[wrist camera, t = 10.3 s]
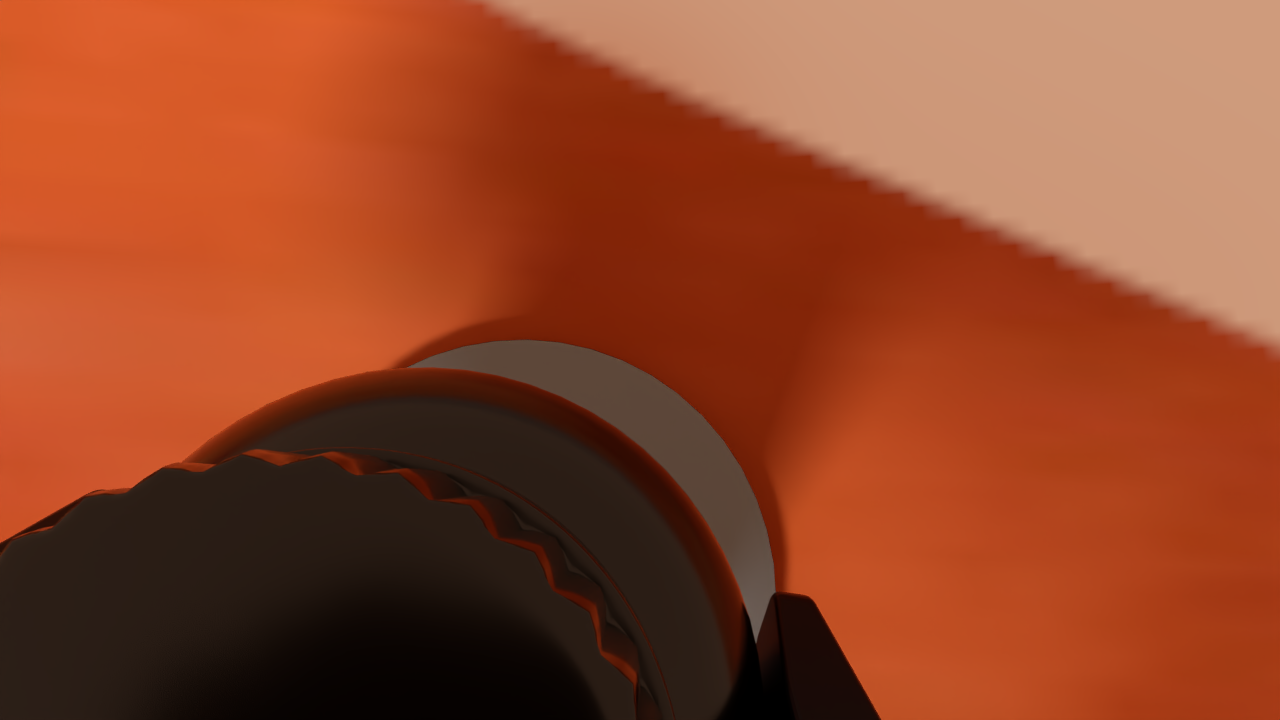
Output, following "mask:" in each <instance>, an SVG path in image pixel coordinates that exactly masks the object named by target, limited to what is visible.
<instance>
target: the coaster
mask: <svg viewBox="0 0 1280 720" xmlns="http://www.w3.org/2000/svg"><path fill="white" fill-rule="evenodd" d="M423 367H436V368H449V369H463V370H470V371H476V372H482V373H487V374H493V375H498V376H502V377H506V378H509V379H513V380H516V381H520V382H524V383H527V384H530V385H533V386H536V387H538V388H541V389H543V390H546V391H548V392H551V393H554V394H556V395H559V396H561V397H563V398H565V399H567V400H569V401H571V402H573V403H575V404H577V405H579V406H581V407H583V408H585V409H587V410H589V411H591V412H593V413H594V414H596V415H598V416H599V417H601V418H602V419H604V420H605V421H607V422H609V423H610V424H612V425H613V426H615V427H616V428H618V429H619V430H621V431H622V432H623V433H624V434H626V435H627V436H628V437H630V438H631V439H632V440H633V441H635V442H636V443H637V444H639V445H640V446H641V447H642V448H644V449H645V450H646V451H647V452H648V453H649V454H650V455H651V456H652V457H653V458H654V459H655V460H656V461H657V462H658V463H659V464H660V465H661V466H662V467H664V468H665V469H666V470H667V471H668V473H669V474H670V475H671V476H672V477H673V478H674V480H675V481H676V482H677V483H678V484H679V485H680V487H681V488H682V489H683V490H684V491H685V492H686V494H687V495H688V496H689V497H690V499H691V500H692V502H693V503H694V505H695V506H696V507H697V509H698V510H699V512H700V513H701V514H702V516H703V517H704V519H705V520H706V522H707V523H708V525H709V527H710V529H711V530H712V532H713V534H714V536H715V537H716V539H717V541H718V543H719V544H720V546H721V548H722V550H723V552H724V554H725V556H726V558H727V560H728V563H729V565H730V567H731V569H732V571H733V574H734V576H735V578H736V580H737V583H738V585H739V588H740V591H741V594H742V597H743V600H744V603H745V605H746V608H747V611H748V614H749V617H750V621H751V625H752V629H753V634H754V638H755V642H756V641H757V637H758V634H759V631H760V628H761V624H762V621H763V618H764V615H765V612H766V609H767V606H768V603H769V600H770V598H771V596H772V595H773V594H774V593H775V592H776V590H775V576H774V563H773V558H772V553H771V548H770V543H769V538H768V533H767V529H766V526H765V523H764V520H763V517H762V514H761V511H760V508H759V505H758V502H757V499H756V497H755V495H754V493H753V491H752V489H751V487H750V484H749V482H748V480H747V478H746V476H745V474H744V472H743V470H742V468H741V467H740V465H739V463H738V462H737V460H736V459H735V457H734V456H733V454H732V453H731V451H730V450H729V448H728V447H727V445H726V444H725V442H724V441H723V439H722V438H721V437H720V436H719V435H718V434H717V432H716V431H715V430H714V429H713V428H712V426H711V425H710V424H709V423H708V422H707V421H706V419H705V418H704V417H703V416H702V415H701V414H700V413H699V412H698V411H697V410H695V409H694V408H693V407H692V406H691V405H690V404H689V403H688V402H687V401H685V400H684V399H683V398H682V397H681V396H680V395H679V394H678V393H676V392H675V391H673V390H672V389H670V388H669V387H667V386H666V385H665V384H663V383H662V382H660V381H659V380H657V379H656V378H654V377H653V376H652V375H650V374H648V373H646V372H644V371H642V370H640V369H638V368H636V367H634V366H632V365H630V364H628V363H626V362H624V361H623V360H620V359H617V358H614V357H612V356H609V355H606V354H603V353H600V352H598V351H595V350H592V349H588V348H583V347H579V346H574V345H569V344H565V343H560V342H549V341H537V340H509V341H493V342H487V343H481V344H475V345H470V346H464V347H460V348H457V349H454V350H450V351H447V352H444V353H441V354H437V355H434V356H431V357H429V358H427V359H424V360H422V361H420V362H418V363H416V364H413V365H411V366H409V367H407V368H423Z"/></svg>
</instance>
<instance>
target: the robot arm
mask: <svg viewBox="0 0 1280 720" xmlns="http://www.w3.org/2000/svg"><path fill="white" fill-rule="evenodd" d="M97 491H103V490H96V491H93V492H90V493H88V494H91V493H94V492H97ZM88 494H86V495H88ZM86 495H84V496H83V497H85V496H86ZM83 497H81V498H79V499H77V500H75V501H74V502H72V503H70V504H68V505H67V506H65V507H63V508H61V509H60V510H58V511H56V512H54V513H52V514H51V515H49V516H47V517H45V518H44V519H42V520H40V521H38V522H37V523H35V524H33V525H31V526H29V527H28V528H26V529H24V530H22V531H21V532H19V533H17V534H15V535H14V536H12V537H10V538H8V539H6V540H5V541H3V542H1V543H0V553H1V552H2V550H3V549H4V548H5V547H6V545H7V544H8V543H9V542H10V541H11V539H12V538H15V537H17V536H20V535H22V534H25V533H29V532H32V531H35V530H38V529H41V528H45V527H50V526H54V525H55V524H56V523H57V522H58V521H59V520H60V519H61V518H62V517H63V516H64V515H65V514H66V512H67V511H68V510H70V509H71V508H72V507H73V506H74V505H75V504H77V503H78V502H79V501H80V500H81V499H82V498H83ZM756 646H757V651H758V656H759V663H760V670H761V677H762V685H763V698H764V720H881V719H880V717H879V715H878V713H877V712H876V710H875V708H874V706H873V704H872V703H871V701H870V699H869V697H868V696H867V694H866V692H865V690H864V689H863V687H862V685H861V683H860V681H859V680H858V678H857V676H856V674H855V673H854V671H853V669H852V667H851V666H850V664H849V662H848V660H847V658H846V657H845V655H844V653H843V651H842V650H841V648H840V646H839V644H838V643H837V641H836V639H835V637H834V635H833V634H832V632H831V630H830V628H829V627H828V625H827V623H826V621H825V620H824V618H823V616H822V614H821V613H820V611H819V609H818V607H817V605H816V604H815V602H814V601H813V600H812V599H811V598H810V597H809V596H806V595H801V594H794V593H787V592H781V591H779V592H775V593H774V594H773V595H772V596H771V598H770V600H769V603H768V606H767V609H766V612H765V615H764V618H763V621H762V624H761V628H760V631H759V634H758V637H757V641H756Z"/></svg>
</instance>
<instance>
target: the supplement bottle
mask: <svg viewBox="0 0 1280 720" xmlns="http://www.w3.org/2000/svg"><path fill="white" fill-rule="evenodd" d="M0 720H764V698H763V685H762V677H761V670H760V663H759V656H758V651H757V646H756V642H755V638H754V634H753V629H752V625H751V621H750V617H749V614H748V611H747V608H746V605H745V603H744V600H743V597H742V594H741V591H740V588H739V585H738V583H737V580H736V578H735V576H734V574H733V571H732V569H731V567H730V565H729V563H728V560H727V558H726V556H725V554H724V552H723V550H722V548H721V546H720V544H719V543H718V541H717V539H716V537H715V536H714V534H713V532H712V530H711V529H710V527H709V525H708V523H707V522H706V520H705V519H704V517H703V516H702V514H701V513H700V512H699V510H698V509H697V507H696V506H695V505H694V503H693V502H692V500H691V499H690V497H689V496H688V495H687V494H686V492H685V491H684V490H683V489H682V488H681V487H680V485H679V484H678V483H677V482H676V481H675V480H674V478H673V477H672V476H671V475H670V474H669V473H668V471H667V470H666V469H665V468H664V467H662V466H661V465H660V464H659V463H658V462H657V461H656V460H655V459H654V458H653V457H652V456H651V455H650V454H649V453H648V452H647V451H646V450H645V449H644V448H642V447H641V446H640V445H639V444H637V443H636V442H635V441H633V440H632V439H631V438H630V437H628V436H627V435H626V434H624V433H623V432H622V431H621V430H619V429H618V428H616V427H615V426H613V425H612V424H610V423H609V422H607V421H605V420H604V419H602V418H601V417H599V416H598V415H596V414H594V413H593V412H591V411H589V410H587V409H585V408H583V407H581V406H579V405H577V404H575V403H573V402H571V401H569V400H567V399H565V398H563V397H561V396H559V395H556V394H554V393H551V392H548V391H546V390H543V389H541V388H538V387H536V386H533V385H530V384H527V383H524V382H520V381H516V380H513V379H509V378H506V377H502V376H498V375H493V374H487V373H482V372H476V371H470V370H463V369H449V368H436V367H423V368H396V369H388V370H380V371H371V372H365V373H360V374H356V375H351V376H347V377H342V378H338V379H334V380H330V381H327V382H324V383H321V384H318V385H315V386H312V387H309V388H305V389H302V390H300V391H297V392H295V393H293V394H290V395H288V396H286V397H283V398H281V399H279V400H276V401H274V402H272V403H269V404H267V405H265V406H264V407H262V408H260V409H258V410H256V411H254V412H253V413H251V414H249V415H247V416H245V417H243V418H241V419H240V420H238V421H236V422H235V423H233V424H232V425H230V426H229V427H227V428H226V429H224V430H223V431H221V432H220V433H218V434H217V435H215V436H214V437H212V438H211V439H209V440H208V441H207V442H206V443H205V444H203V445H202V446H201V447H200V448H198V449H197V450H196V451H195V452H193V453H192V454H191V455H190V456H188V457H187V458H186V459H185V460H184V461H182V462H181V463H173V464H170V465H167V466H164V467H162V468H161V469H159V470H157V471H156V472H154V473H153V474H151V475H149V476H148V477H146V478H145V479H143V480H142V481H140V482H139V483H138V484H137V485H135V486H134V487H133V488H122V489H112V490H103V491H97V492H94V493H91V494H88V495H86V496H85V497H83V498H82V499H81V500H80V501H79V502H78V503H77V504H75V505H74V506H73V507H72V508H71V509H70V510H68V511H67V512H66V514H65V515H64V516H63V517H62V518H61V519H60V520H59V521H58V522H57V523H56V524H55V525H54V526H50V527H45V528H41V529H38V530H35V531H32V532H29V533H25V534H22V535H20V536H17V537H15V538H12V539H11V541H10V542H9V543H8V544H7V545H6V547H5V548H4V549H3V550H2V552H1V553H0Z"/></svg>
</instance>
